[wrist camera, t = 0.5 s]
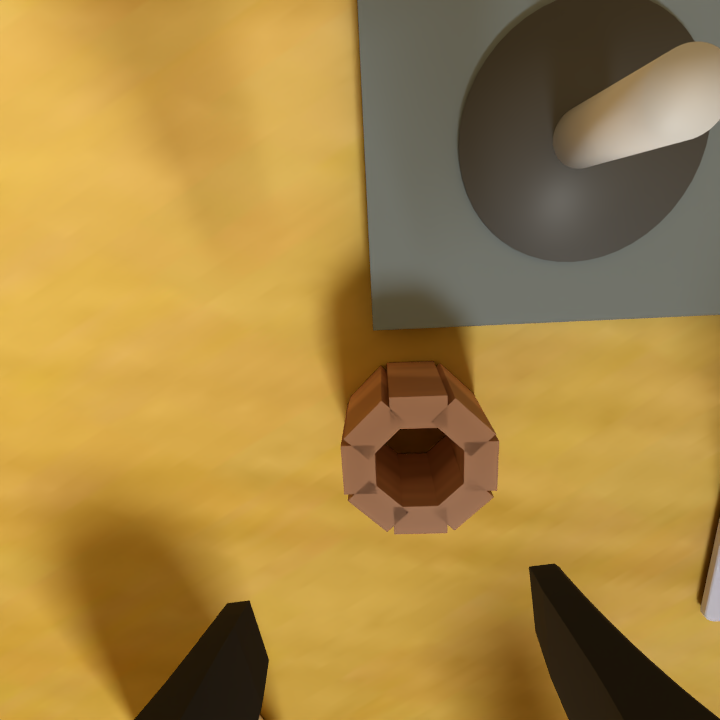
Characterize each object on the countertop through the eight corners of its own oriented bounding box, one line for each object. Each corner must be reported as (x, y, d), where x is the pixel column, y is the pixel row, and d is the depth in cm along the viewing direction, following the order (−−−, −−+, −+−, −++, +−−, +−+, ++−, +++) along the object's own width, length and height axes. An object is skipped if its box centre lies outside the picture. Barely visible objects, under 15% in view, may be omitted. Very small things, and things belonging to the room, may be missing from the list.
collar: (476, 359, 19) (500, 393, 15) (473, 474, 21) (495, 532, 17) (345, 364, 19) (337, 399, 15) (352, 478, 21) (347, 534, 17)
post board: (826, -98, 14) (1190, -359, 8) (745, 307, 18) (946, 353, 12) (355, -55, 15) (338, -259, 9) (373, 325, 19) (371, 376, 12)
